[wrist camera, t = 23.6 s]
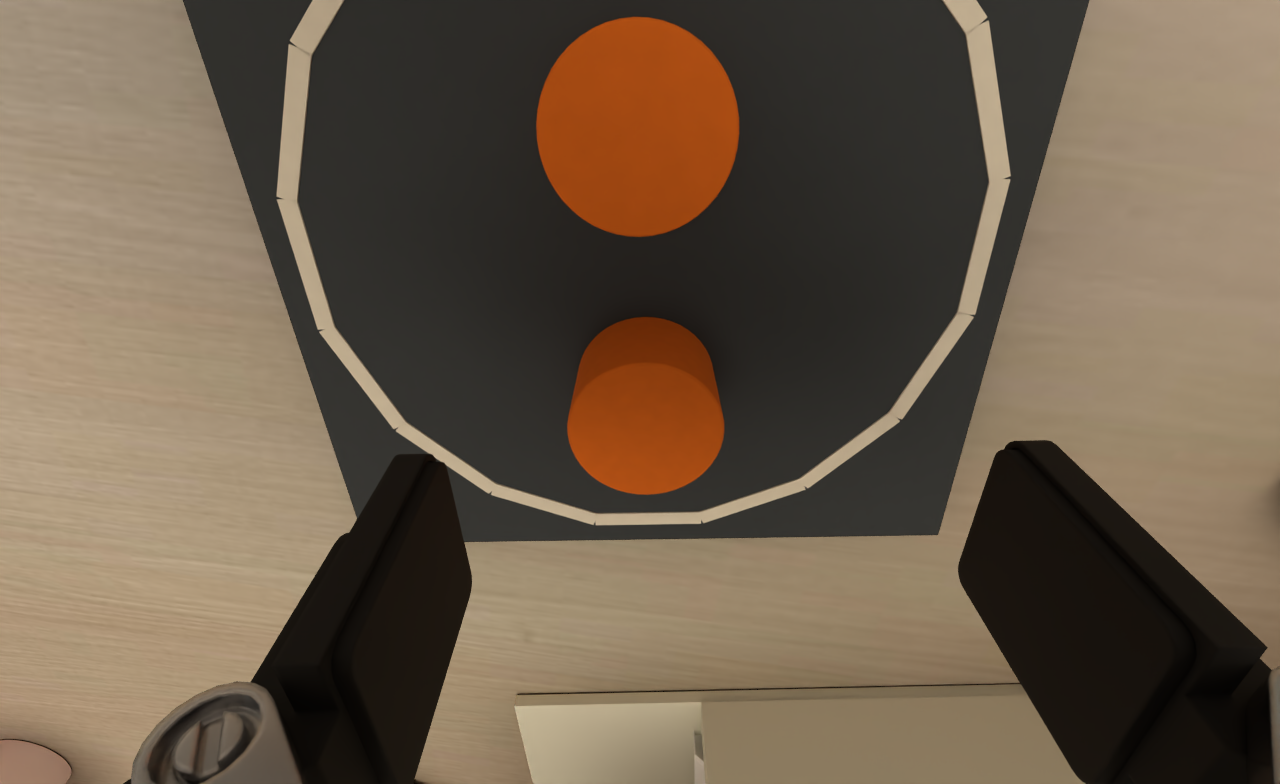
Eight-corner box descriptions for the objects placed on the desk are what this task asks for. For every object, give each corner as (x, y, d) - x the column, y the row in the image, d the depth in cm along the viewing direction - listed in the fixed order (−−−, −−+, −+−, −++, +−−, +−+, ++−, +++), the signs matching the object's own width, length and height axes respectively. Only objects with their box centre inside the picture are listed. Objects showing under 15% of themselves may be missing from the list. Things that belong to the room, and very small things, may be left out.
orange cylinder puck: (547, 26, 14) (524, 20, 11) (726, 20, 13) (745, 12, 11) (563, 208, 15) (546, 240, 13) (719, 204, 15) (734, 235, 13)
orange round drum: (573, 317, 17) (559, 365, 14) (715, 313, 17) (728, 361, 14) (583, 435, 19) (573, 496, 16) (711, 433, 19) (721, 494, 16)
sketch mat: (115, -235, 12) (96, -245, 11) (1156, -282, 11) (1176, -295, 11) (369, 536, 22) (364, 545, 21) (933, 527, 21) (939, 536, 21)
